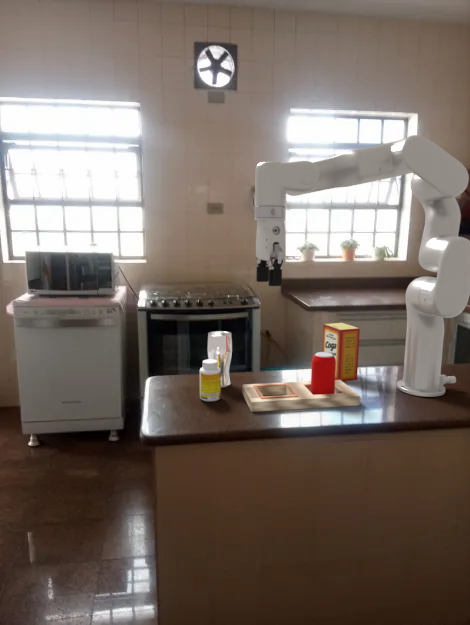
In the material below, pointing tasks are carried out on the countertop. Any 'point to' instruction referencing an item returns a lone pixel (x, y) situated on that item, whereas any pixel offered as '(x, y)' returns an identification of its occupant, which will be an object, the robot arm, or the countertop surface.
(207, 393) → the supplement bottle
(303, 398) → the square hole board
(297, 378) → the countertop surface
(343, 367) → the baking soda box
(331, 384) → the beverage can
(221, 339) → the beer glass
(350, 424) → the countertop surface
